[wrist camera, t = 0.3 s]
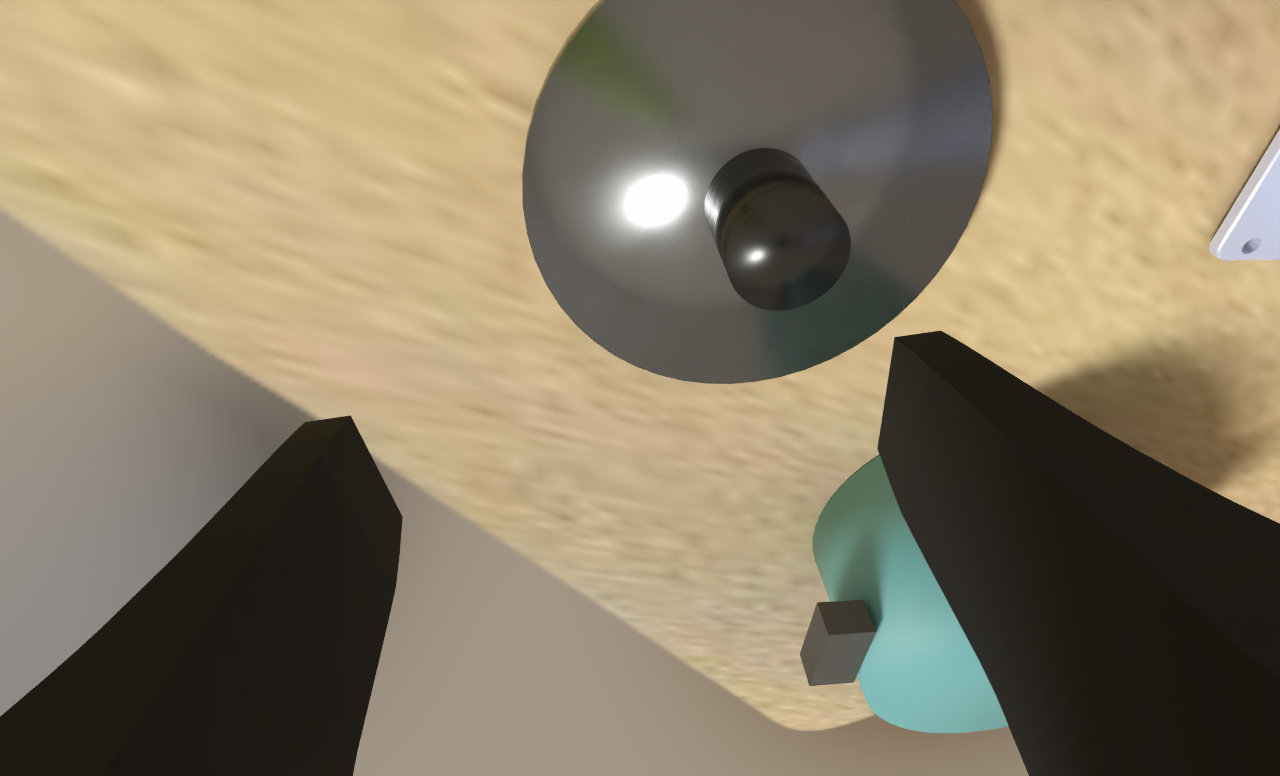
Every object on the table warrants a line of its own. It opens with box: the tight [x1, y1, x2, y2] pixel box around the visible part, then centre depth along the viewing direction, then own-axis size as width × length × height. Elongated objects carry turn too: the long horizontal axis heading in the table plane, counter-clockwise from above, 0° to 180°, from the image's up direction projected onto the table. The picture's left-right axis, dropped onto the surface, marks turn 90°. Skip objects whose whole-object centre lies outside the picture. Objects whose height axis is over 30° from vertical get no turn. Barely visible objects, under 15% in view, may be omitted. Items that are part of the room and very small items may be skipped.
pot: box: [800, 455, 1008, 733], centre depth 26 cm, size 14×11×6 cm
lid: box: [523, 0, 992, 384], centre depth 17 cm, size 12×12×4 cm
